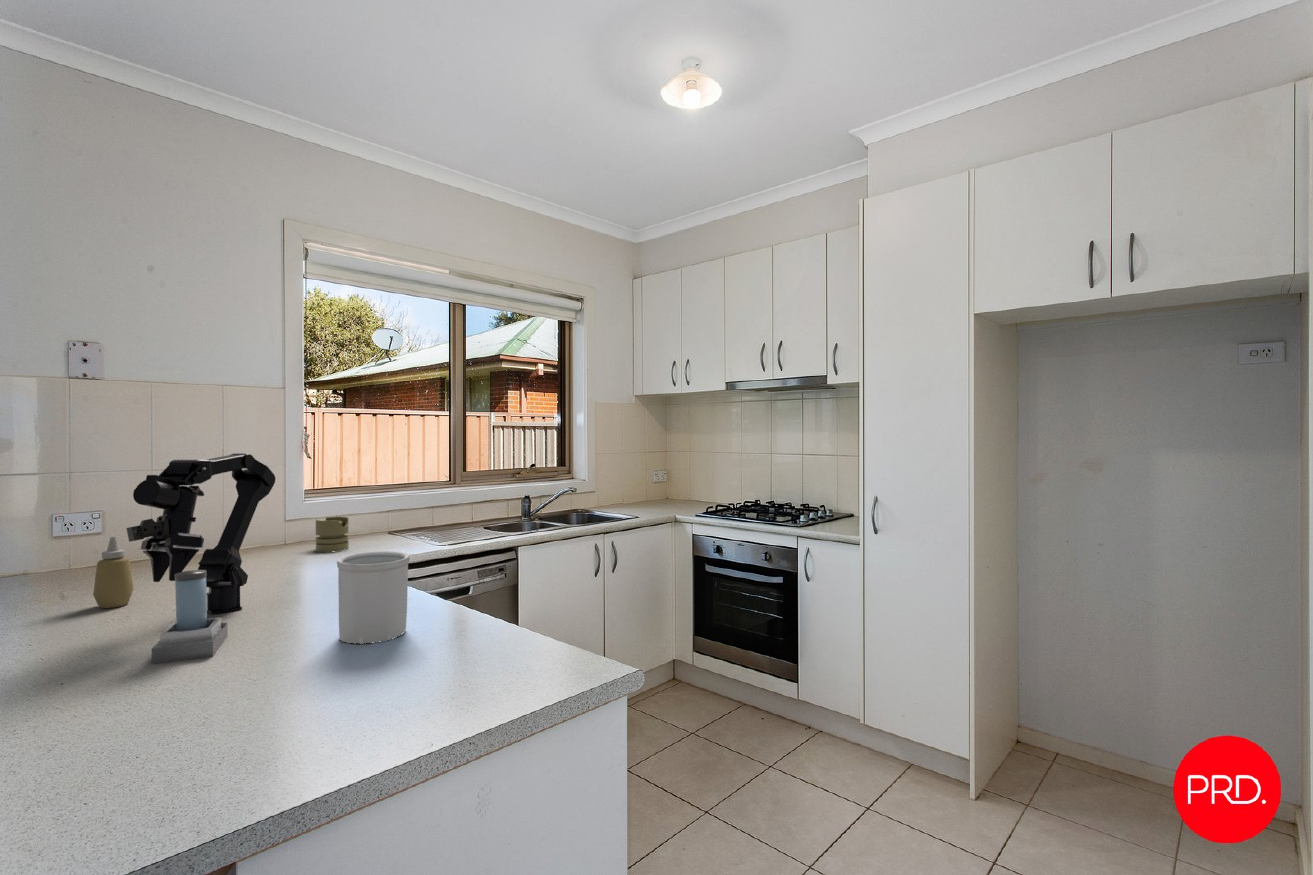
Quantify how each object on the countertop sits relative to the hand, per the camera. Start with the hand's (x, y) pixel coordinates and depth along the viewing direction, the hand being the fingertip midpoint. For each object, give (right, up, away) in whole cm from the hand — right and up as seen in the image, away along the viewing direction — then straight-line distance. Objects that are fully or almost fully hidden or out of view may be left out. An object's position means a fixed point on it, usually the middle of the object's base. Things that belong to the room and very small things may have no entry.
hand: (164, 581), depth 142 cm
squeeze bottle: (-31, -12, +23) cm, 41 cm away
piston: (-15, -11, +102) cm, 104 cm away
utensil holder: (+48, -12, 0) cm, 49 cm away
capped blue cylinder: (+14, -9, -10) cm, 19 cm away
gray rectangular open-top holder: (+14, -12, -10) cm, 21 cm away
